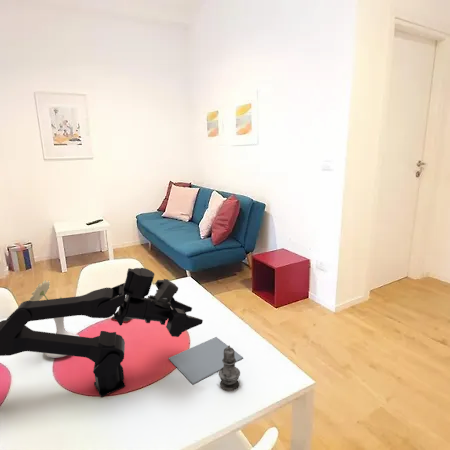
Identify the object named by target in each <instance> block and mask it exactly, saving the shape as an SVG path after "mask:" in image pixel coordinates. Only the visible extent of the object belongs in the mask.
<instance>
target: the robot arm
mask: <svg viewBox="0 0 450 450" xmlns="http://www.w3.org/2000/svg"><path fill="white" fill-rule="evenodd" d="M126 272H127V273H126V277H125V280H124V283H121V284H118V285H116V286H113V287H103V288H98V289H96V290H91V291H90V292H88V293H86V294H82V295H78V296H69V297H61V298H60V297H59V298H51V299H50V298H49V299H48V300H47V299H40V300H39V301H29V300H25V301H22V302H21V303H20V304H19V305H18V307H17V308H16V309H15V310H14V311H13V312H12V313H11V314H10V315H9V316H8V317H7V318H6V319H4V320H1V321H0V357H1V356H2V357H4V356H5V357H7V356H13V355H18V354H21V353H24V352H31V353H41V354H42V353H43V354H44V353H49V354H58V355H67V356H70V357H78V358H79V357H80V358H87V359H89V360H90V361H91V362H93V363H94V365H93V371H92V372H93V374H94V379H95V381H94V382H93V384H94V387H95V389H96V390H97V392H98V394H99V396H100V397H101V398H103V397H105V396H107V395H110V394H112V393H114V392H116V391H118V390H120V389H123V388H124V387H126V384H125V383H124V380H125V375H124V373H125V372H124V368H123V365H122V363H123V361H124V359H125V349H126V348H125V347H126V345H125V344H126V341H125V339H124V338H123V336H122V335H120V334H117V332H116V331H114V332H111V331H106V330H100V333H99V335H97V336H94V337H88V336H80V335H79V336H72V335H64V334H56V332H47V331H46V332H45V331H39V330H33V329H31V328H29V327H28V326H27V324H28V323H30V322H33V321H34V322H35V321H42V320H50V319H53V318H61V317H64V318H69V317H74V316H75V317H76V316H84V317H88V318H92V319H108V318H112V317H113V316H114V319H116V320H117V324H118V325H119V326H123V324H124V323H123V321H124V318H131V319H132V320H139V321H140V320H142V321H144V322H145V323H146V324H151V322H158V323H160V325H162V326H163V325H164V326H165V325H166V326H165V328H166V329H167V331H168V333H169V335H170V336H171V337H175V338H179V337H180V336H181V335H182V333H184V332H186V331H188V330H190V329H193V328H195V327H197V326H199V325H202V324H203V321H204V320H203V319H202V318H199V317H197V316H196V317H195V316H192V315H189V314H187V313H189V312H190V313H191V312H192V310H193V307H192V306H190V305H187V304H185V303H183V302H180V301H178V300H176V299H175V298H174V296H175V294H177V293H178V291H179V287H178V286H177V285H176V284H175V283H173V282H172V281H171V280H169V279H167V278H163V279H157V280H156V281H155V283H154V284H155V287H156V288H157V289H156V292H155V294H154V295H151V294H150V291H151V287H152V284H153V281H154V277H155V275H156V274H155V272H153V271H152V270H151V269H150V270H149V269H148V268H146V267H135V268H134V267H133V268H128V269H127V271H126ZM149 294H150V295H149ZM166 322H167V323H166Z"/></svg>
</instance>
